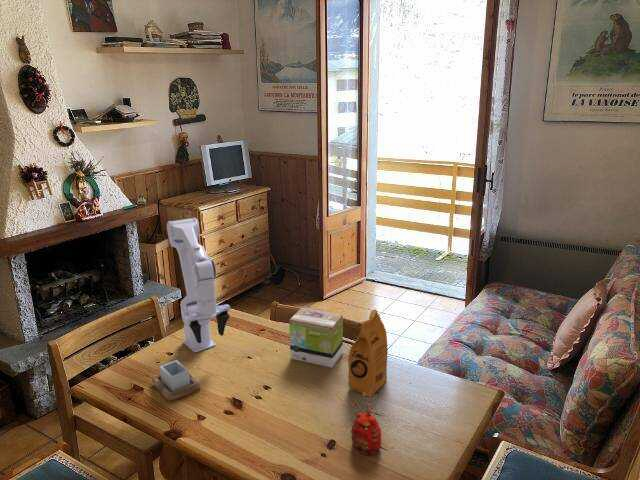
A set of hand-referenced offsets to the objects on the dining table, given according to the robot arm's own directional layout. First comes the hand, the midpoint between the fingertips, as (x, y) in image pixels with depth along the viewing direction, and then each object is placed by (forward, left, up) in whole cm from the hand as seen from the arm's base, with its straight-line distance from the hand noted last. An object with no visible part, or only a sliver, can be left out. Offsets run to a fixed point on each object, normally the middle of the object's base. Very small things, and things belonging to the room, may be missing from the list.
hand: (210, 338), depth 164 cm
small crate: (+4, -14, -9) cm, 17 cm away
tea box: (+17, +29, -10) cm, 35 cm away
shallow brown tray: (+4, -14, -10) cm, 18 cm away
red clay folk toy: (+59, +12, -10) cm, 61 cm away
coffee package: (+39, +31, -10) cm, 51 cm away
